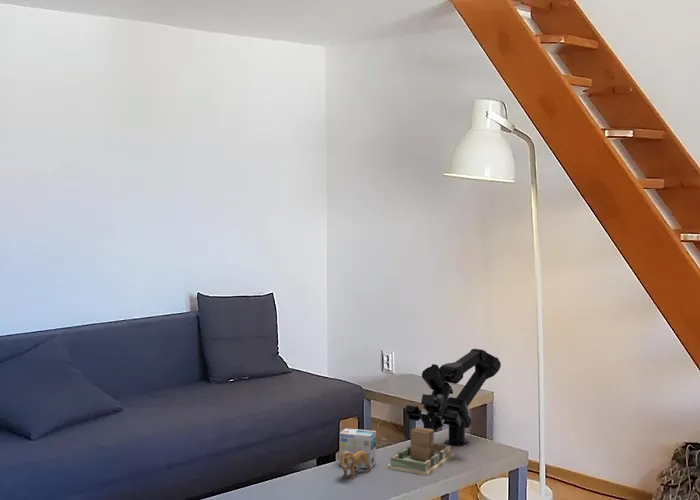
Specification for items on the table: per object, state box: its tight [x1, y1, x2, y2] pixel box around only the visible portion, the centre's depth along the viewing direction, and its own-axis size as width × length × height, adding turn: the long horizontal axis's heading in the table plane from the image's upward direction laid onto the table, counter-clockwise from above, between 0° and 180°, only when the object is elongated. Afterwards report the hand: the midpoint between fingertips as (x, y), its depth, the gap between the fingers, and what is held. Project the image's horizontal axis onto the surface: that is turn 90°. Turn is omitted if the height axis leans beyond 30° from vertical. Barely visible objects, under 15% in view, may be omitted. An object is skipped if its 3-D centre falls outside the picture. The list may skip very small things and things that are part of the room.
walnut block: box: [409, 426, 435, 461], centre depth 271 cm, size 5×6×9 cm
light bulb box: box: [338, 428, 377, 469], centre depth 268 cm, size 11×7×11 cm, turn 73°
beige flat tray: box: [387, 442, 454, 477], centre depth 271 cm, size 21×14×4 cm, turn 151°
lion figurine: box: [338, 451, 372, 479], centre depth 258 cm, size 15×5×9 cm, turn 148°
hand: (425, 437), depth 274 cm, fingers closed, pressing on walnut block
